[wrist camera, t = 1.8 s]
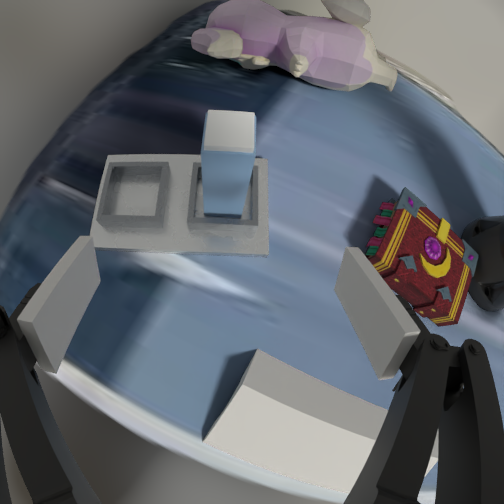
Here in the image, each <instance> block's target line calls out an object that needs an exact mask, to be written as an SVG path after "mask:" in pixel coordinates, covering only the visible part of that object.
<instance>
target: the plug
mask: <svg viewBox="0 0 504 504" xmlns="http://www.w3.org/2000/svg"><path fill="white" fill-rule="evenodd" d="M255 157H256V116H254V113H252V112H239V111H223V110H208V113H206V116H205V124H204V131H203V139H202V147H201V166H202V187H203V204H204V216H211V217H233V218H241V216H242V212H243V208H244V203H245V199H246V195H247V191H248V186H249V182H250V178H251V174H252V170H253V165H254V161H255Z"/></svg>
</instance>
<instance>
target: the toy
mask: <svg viewBox="0 0 504 504" xmlns="http://www.w3.org/2000/svg"><path fill="white" fill-rule="evenodd" d="M321 1H322V3H323V4H324V6H325V7H326V8H327V10H328V11H329V13H330V14H331V16H332V18H326V17H314V16H287V15H285V14H284V13H282V12H281V11H279V10H278V9H276V8H274V7H273V6H271V5H269V4H267V3H265V2H263V1H261V0H231V1H228V2H226V3H224V4H221V5H219V6H218V7H217V8H216V9H215V10H214V11H213V12H212V13H211V14H210V15H209V19H208V22H207V25H206V28H205V29H199V30H197V31H194V33H193V34H192V38H191V45H192V48H193V49H195V50H196V51H198V52H200V53H203V54H207V55H209V56H212V57H215V58H217V59H224V58H228V59H230V60H233V61H235V62H238V63H239V64H240V65H241V66H242V67H243V68H247V69H254V70H255V69H261V68H264V67H267V66H270V65H272V66H278V67H280V68H283V69H285V70H286V71H288V72H290V73H291V74H292V75H294V76H295V77H299V78H301V79H303V80H305V81H307V82H309V83H311V84H313V85H317V86H321V87H324V88H328V89H332V90H340V91H352V90H355V89H358V88H360V87H362V86H364V85H365V84H367V83H368V82H372V83H377V84H381V85H385V86H386V89H387V90H388V91H389V92H390V91H392V90H393V88H394V85H395V83H396V80H397V70H396V68H394V67H392V66H391V65H389V64H387V63H386V59H385V57H383V56H381V55H380V54H378V53H377V51H376V46H375V44H374V41H373V39H372V36H371V33H370V32H368V31H367V30H366V29H364V28H363V26H364V25H365V24H367V23H368V22H370V14H371V11H370V8H369V6H368V5H367V4H366V3H365V2H364V0H321Z"/></svg>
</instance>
